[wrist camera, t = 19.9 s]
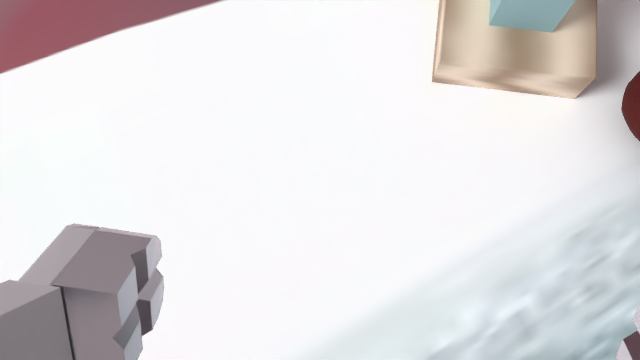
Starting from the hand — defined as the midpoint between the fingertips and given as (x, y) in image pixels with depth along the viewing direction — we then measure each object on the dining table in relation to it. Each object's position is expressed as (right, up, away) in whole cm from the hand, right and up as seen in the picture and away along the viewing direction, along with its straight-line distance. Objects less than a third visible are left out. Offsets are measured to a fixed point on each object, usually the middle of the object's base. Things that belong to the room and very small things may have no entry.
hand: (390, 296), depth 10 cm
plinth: (+15, +15, +41) cm, 46 cm away
